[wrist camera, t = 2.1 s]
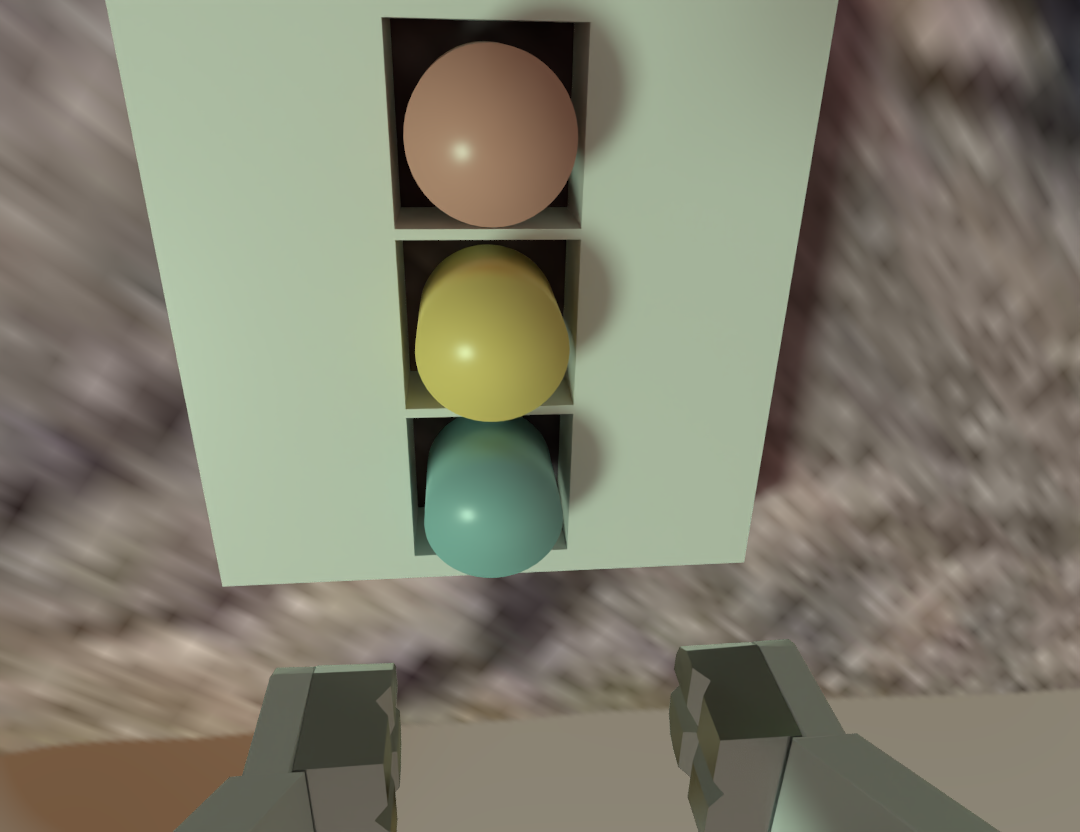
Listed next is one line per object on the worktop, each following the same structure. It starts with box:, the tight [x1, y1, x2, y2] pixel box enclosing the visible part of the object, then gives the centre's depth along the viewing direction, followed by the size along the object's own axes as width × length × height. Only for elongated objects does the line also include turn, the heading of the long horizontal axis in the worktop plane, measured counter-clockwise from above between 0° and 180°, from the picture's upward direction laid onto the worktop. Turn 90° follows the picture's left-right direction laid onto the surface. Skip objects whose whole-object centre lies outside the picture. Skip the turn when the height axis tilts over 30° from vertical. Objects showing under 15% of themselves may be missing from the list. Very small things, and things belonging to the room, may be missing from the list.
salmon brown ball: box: [403, 41, 578, 227], centre depth 20 cm, size 4×4×4 cm
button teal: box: [424, 417, 563, 578], centre depth 25 cm, size 4×4×4 cm
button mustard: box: [415, 244, 570, 422], centre depth 23 cm, size 4×4×4 cm
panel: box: [105, 0, 838, 586], centre depth 24 cm, size 18×18×3 cm
